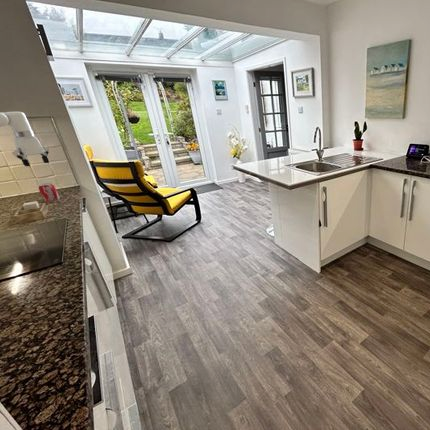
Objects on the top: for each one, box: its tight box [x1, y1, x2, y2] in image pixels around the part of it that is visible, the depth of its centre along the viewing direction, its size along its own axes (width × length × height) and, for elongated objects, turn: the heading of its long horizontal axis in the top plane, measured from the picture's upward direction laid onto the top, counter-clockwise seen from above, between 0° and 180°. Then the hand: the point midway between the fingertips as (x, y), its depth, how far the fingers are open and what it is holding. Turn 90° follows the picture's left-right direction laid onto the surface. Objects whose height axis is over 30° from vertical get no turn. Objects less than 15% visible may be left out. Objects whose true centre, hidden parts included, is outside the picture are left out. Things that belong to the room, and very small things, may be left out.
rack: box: [13, 202, 49, 225], centre depth 139 cm, size 10×19×5 cm, turn 41°
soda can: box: [38, 182, 61, 203], centre depth 160 cm, size 7×7×12 cm
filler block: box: [22, 200, 40, 210], centre depth 142 cm, size 5×5×6 cm
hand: (37, 164), depth 156 cm, fingers open, 9 cm apart
